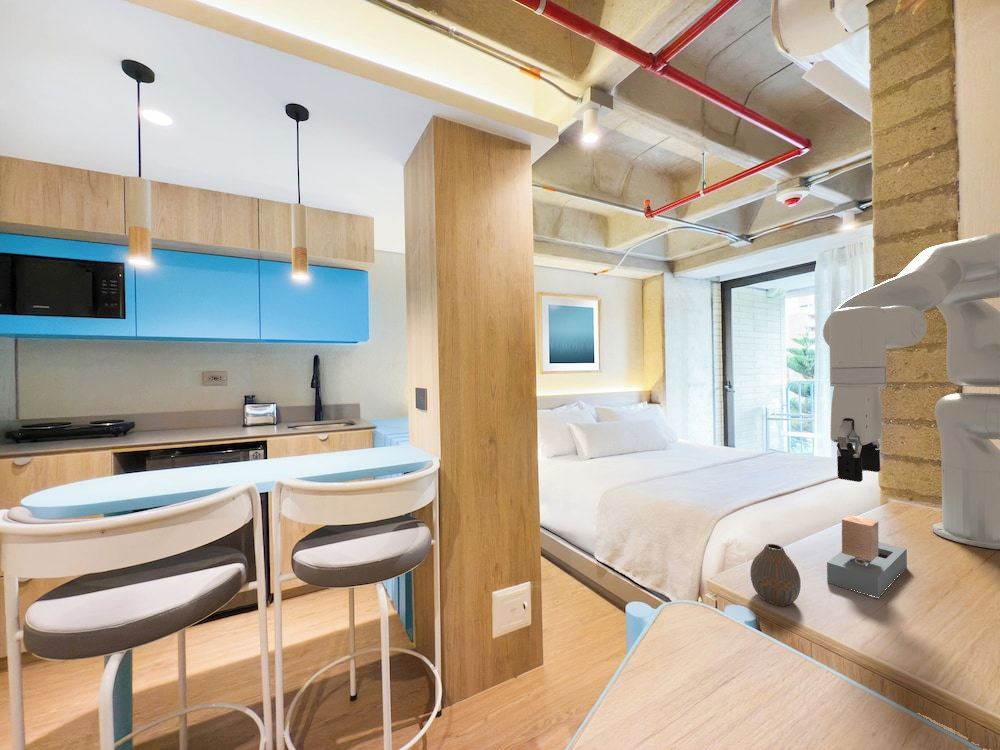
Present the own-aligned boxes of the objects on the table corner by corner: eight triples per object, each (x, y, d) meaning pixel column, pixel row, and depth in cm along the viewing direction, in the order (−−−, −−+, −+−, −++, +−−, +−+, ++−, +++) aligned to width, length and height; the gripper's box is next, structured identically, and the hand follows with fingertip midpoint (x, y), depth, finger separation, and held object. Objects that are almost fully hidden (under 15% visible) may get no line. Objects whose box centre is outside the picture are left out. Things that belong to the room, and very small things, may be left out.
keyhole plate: (860, 555, 84) (860, 537, 84) (906, 567, 78) (906, 548, 78) (827, 582, 73) (827, 562, 73) (877, 599, 68) (877, 577, 68)
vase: (795, 593, 70) (795, 541, 70) (805, 615, 64) (804, 558, 64) (748, 585, 73) (747, 535, 73) (753, 605, 67) (752, 551, 67)
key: (849, 569, 76) (849, 514, 76) (878, 577, 73) (878, 521, 73) (842, 575, 74) (841, 519, 74) (871, 584, 70) (871, 526, 70)
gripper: (847, 376, 81) (849, 463, 81) (812, 380, 71) (814, 479, 71) (899, 376, 75) (901, 470, 75) (869, 380, 65) (872, 489, 65)
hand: (859, 475), depth 73 cm, fingers open, 9 cm apart
